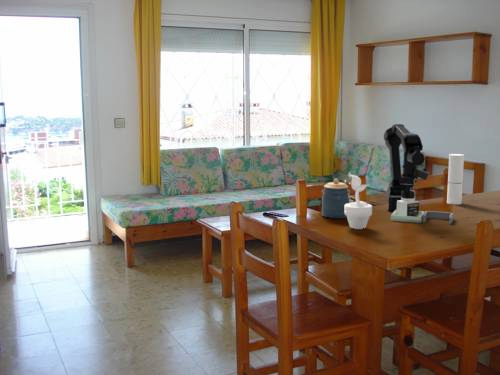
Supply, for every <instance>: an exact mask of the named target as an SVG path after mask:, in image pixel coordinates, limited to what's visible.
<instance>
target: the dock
mask: <svg viewBox="0 0 500 375" xmlns="http://www.w3.org/2000/svg"><path fill="white" fill-rule="evenodd" d="M427 219H435V220H436V219H439V220H448V225H452V223H453V221H454V220H453V219H454V212H450V211H449V212H448V211H434V210H425V211H424V214H423V220H422V223H426V221H427Z"/></svg>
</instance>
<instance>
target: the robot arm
mask: <svg viewBox="0 0 500 375" xmlns="http://www.w3.org/2000/svg"><path fill="white" fill-rule="evenodd" d="M383 140H384V144H385V145H386V147H387V148H388V150H389V151H388V152H389V162H390V172H391V174H390V175H391V178H390V181H389V183H388V187H387V189H386V192H385V198H386V199H388V209H387V212H392V213H393V212H394V211H395V210H397V201H398V200H402V199H401V192H402V191H403V192H404V195H405V197H406V199H409V195H410V190H413V191H414V186H415V184H416V183H417V182H418V181H419V179H421V180H424V181H427V180H428V178H429V175H430V173H431V172H430V171H429V170H428V168H427V167H423V168H419V166H421V165H422V164H423V163H425V159H426V158H425V155H424V154H423V153H422V152H421V151H423V147H424V145H423V143H422V139H421V137H420V136H419V134H417V133H414V132H411V131H409V130H408V128H406V127H405V125H404V124H402V123H399V124H398V123H395V124H393V125H392V126H391V127H388V129H386V130H385V132H384V134H383ZM400 146H402V148H403V151H402V152H403V162H402V163H403V164H402V167H401V155H400V154H401V153H400ZM402 168H403V169H402Z"/></svg>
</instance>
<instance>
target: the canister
mask: <svg viewBox="0 0 500 375" xmlns="http://www.w3.org/2000/svg"><path fill="white" fill-rule="evenodd" d="M323 188H324V189H322V190H321V193H322V197H321V215H322V217H323V216H324V217H323V218H326V217H329V218H328V219H333V218H341V219H347V218H346V217H347V216H346V215H345V214H344V205H345V204H348V203H351V202H350V200H351V198H350V193H351V191H350V190H349V189H348V188H349V185H347V183H346V182H340V180H339V178H334V179H333V182H332V181H331V182H327V183H326V184H324V185H323Z"/></svg>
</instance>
